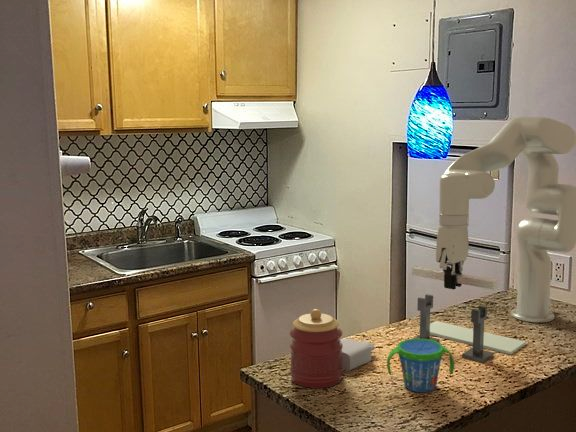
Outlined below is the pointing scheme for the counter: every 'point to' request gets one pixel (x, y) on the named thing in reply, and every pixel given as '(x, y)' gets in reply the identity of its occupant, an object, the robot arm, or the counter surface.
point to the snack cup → (420, 363)
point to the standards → (476, 318)
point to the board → (466, 337)
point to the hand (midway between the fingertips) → (452, 286)
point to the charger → (355, 353)
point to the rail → (459, 278)
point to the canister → (316, 350)
